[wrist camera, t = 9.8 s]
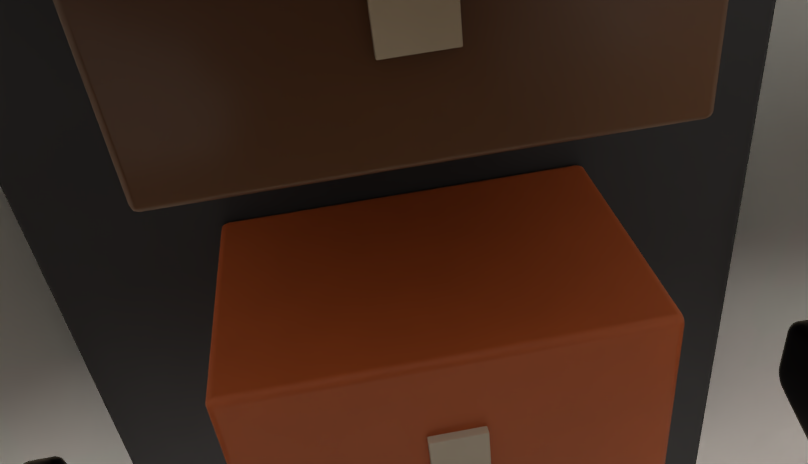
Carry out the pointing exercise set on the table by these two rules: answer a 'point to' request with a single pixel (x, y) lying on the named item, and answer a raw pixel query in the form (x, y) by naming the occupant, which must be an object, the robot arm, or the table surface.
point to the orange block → (443, 331)
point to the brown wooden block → (373, 83)
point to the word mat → (202, 222)
